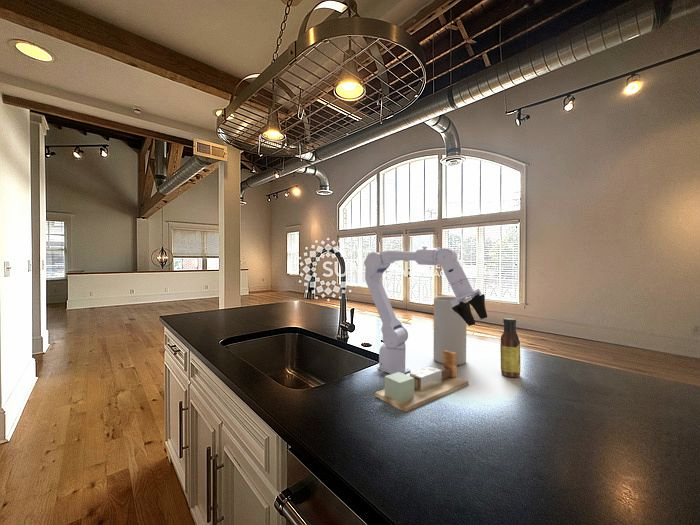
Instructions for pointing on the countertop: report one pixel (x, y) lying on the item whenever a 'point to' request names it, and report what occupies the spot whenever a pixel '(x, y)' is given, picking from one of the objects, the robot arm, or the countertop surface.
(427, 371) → the metal sleeve
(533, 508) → the countertop surface
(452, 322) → the cylinder vase
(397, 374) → the pale green block
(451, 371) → the brown piece
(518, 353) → the sauce bottle
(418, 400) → the base board
